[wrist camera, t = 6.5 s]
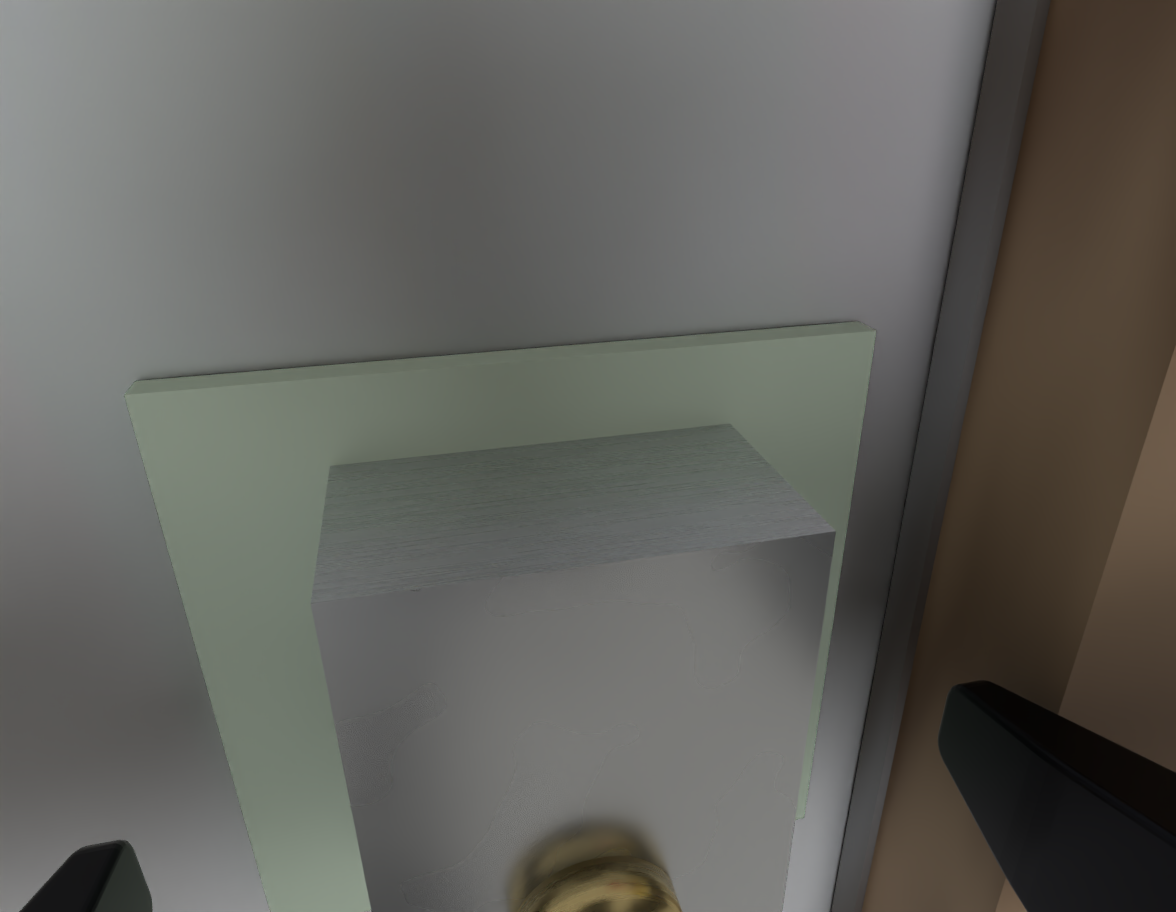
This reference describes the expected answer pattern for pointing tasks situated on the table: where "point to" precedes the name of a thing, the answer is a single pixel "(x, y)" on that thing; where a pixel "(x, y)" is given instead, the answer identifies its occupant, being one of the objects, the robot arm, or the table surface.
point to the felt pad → (411, 429)
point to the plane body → (1036, 445)
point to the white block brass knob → (573, 672)
